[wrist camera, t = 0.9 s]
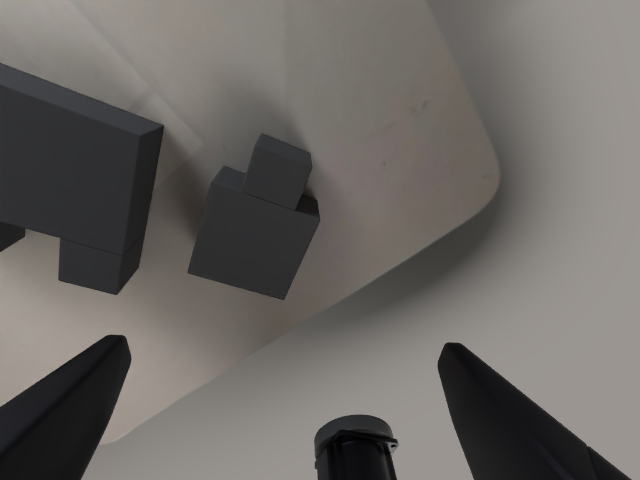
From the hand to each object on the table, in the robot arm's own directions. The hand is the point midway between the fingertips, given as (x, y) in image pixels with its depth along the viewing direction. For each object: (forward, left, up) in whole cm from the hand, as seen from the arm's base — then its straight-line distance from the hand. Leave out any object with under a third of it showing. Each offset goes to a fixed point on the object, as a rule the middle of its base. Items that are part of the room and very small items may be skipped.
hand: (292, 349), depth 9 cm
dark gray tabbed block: (+2, +1, -12) cm, 12 cm away
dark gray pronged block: (+13, +4, -12) cm, 18 cm away
